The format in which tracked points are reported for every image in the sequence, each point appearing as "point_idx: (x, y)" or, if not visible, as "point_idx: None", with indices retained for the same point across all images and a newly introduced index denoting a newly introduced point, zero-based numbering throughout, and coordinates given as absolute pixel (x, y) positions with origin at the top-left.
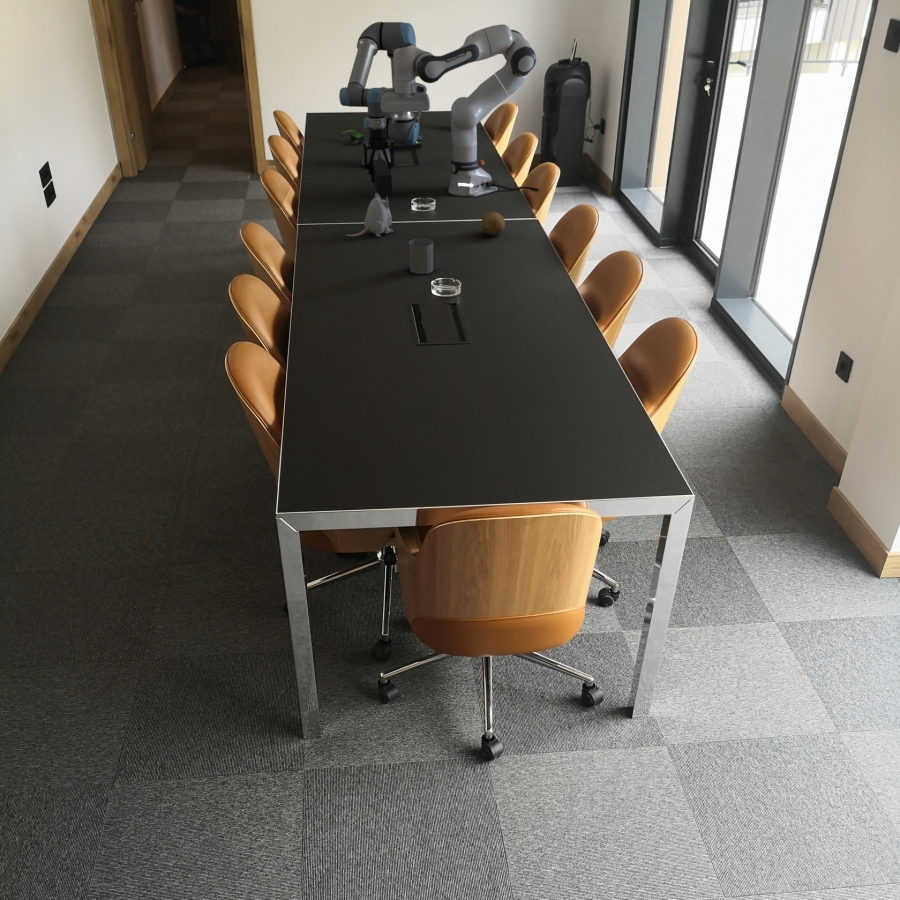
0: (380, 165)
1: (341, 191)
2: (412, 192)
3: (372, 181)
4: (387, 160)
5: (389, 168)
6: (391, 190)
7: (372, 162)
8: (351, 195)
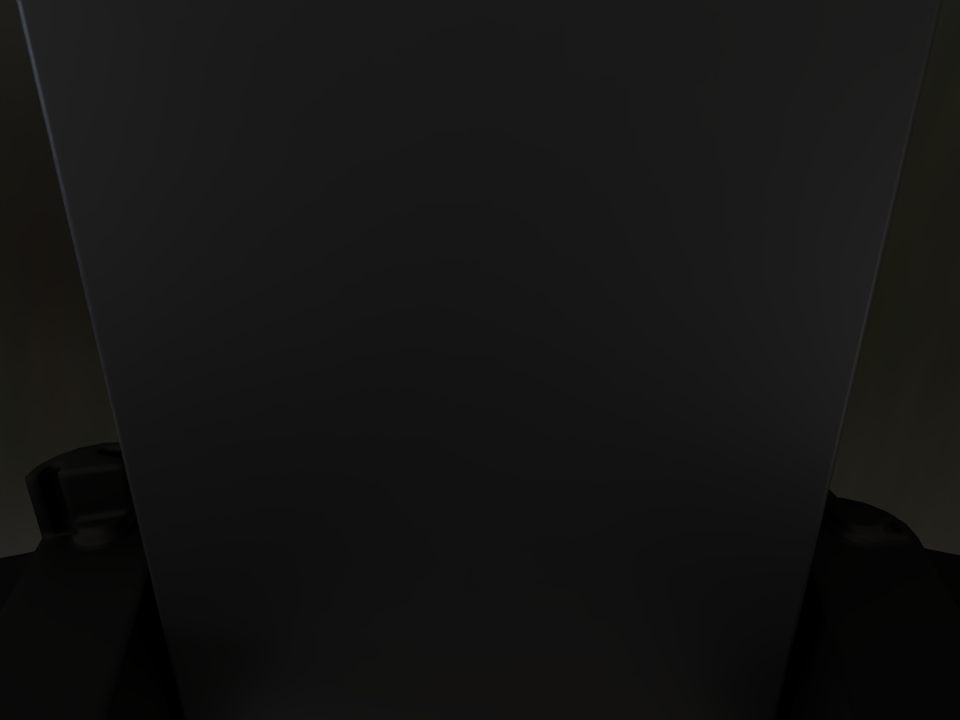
0: (486, 87)
1: (957, 511)
2: (17, 310)
3: None
4: (20, 692)
5: None
6: None
7: (770, 717)
8: (896, 322)
